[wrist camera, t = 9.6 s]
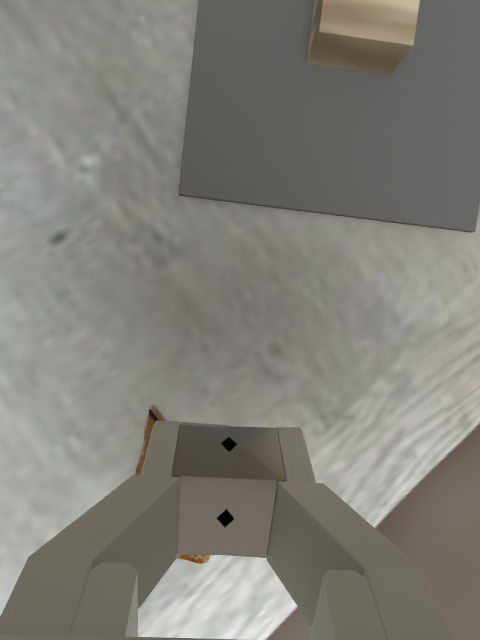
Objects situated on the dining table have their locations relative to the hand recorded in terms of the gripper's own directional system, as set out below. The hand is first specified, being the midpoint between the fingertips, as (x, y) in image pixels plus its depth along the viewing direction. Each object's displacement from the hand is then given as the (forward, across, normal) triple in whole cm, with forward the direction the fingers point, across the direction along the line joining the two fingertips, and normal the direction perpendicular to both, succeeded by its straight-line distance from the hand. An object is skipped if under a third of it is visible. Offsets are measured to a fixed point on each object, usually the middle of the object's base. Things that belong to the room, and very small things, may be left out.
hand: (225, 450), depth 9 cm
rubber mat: (+30, -8, -14) cm, 34 cm away
